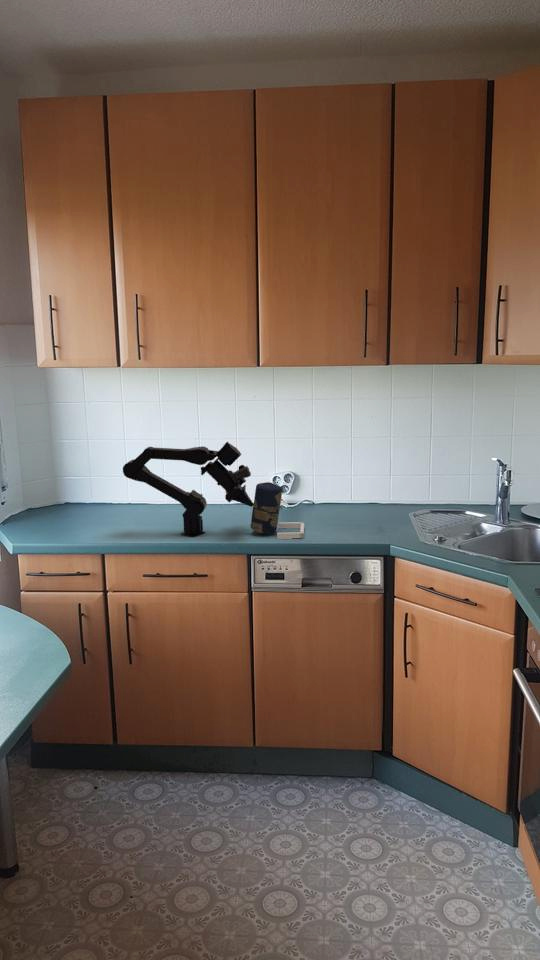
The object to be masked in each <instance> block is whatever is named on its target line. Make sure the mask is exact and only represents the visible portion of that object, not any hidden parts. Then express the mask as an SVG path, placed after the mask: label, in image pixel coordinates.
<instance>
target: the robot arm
mask: <svg viewBox="0 0 540 960" xmlns="http://www.w3.org/2000/svg"><path fill="white" fill-rule="evenodd" d="M241 456H242V453H241V452H240V450H239V449H238V448H237V447H236V446H234V445H233V444H231V443H230V442H229V441H226V442H225V443H224V444H223V446H222V447H221V448H220V449H219V450H211V449H209V448H208V447H207V446H197V447H196V446H195V447H190V448H173V447H171V448H169V447H153V446H148V447H146V448H144V450H143V451H142V452H141V453H139V455H138V456H137V457H136V458H134V459H131V460H129V461H128V462H126V463H125V464H124V465H123V466H122V473H123V475H124V476H125V478H128V479H130V480H133V481H136V482H141V483H145V484H147V485H148V486H150V487H152V488H153V489H155V490H157V491H159V492H161V493H162V494H164V495H166V496H168V497H170V498H171V499H174V500H175V501H176V502H179V503H180V505H181V506H182V507H183V508H184V509H185V511H183V513H182V514H181V515H182V519H183V520H182V521H183V532H180V534H181V535H183V536H186V537H187V536H188V537H192V538H193V537H197V536H200V535H204V534H206V533H207V532H206V530H205V531H204V525H203V524H204V523H203V521H204V520H203V516H202V513H203V512H204V511H205V509H206V507H207V505H208V502H207V500H206V498H205V497H204V496H203V495H204V494H203V493H202V494H201V493H199V492H197V491H196V490H195V489H192V490H191V491H190V492H189V491H186V490H184V489H182V488H180V487H178V486H176V485H174V484H173V483H172V482H169V481H168V480H166V479H164V478H162V477H160V476H159V475H157V474H155V473H153V472H152V471H151V470H150V469H149V468H148V467H147V466H146V464H147V463H148V462H149V461H150V460H152V459H153V460H164V461H165V460H167V461H168V460H169V461H182V462H187V463H190V464H194V465H198V466H201V467H200V475H201V476H203V475H205V474H206V473H207V474H208V475H209V476H210V477H211V478H213V480H214V481H215V482H216V485H217V486H220V487H222V488H223V490H224V491H225V496H224V497H225V501H227V502H228V503H231V502H232V501H234V502H237V503H241V504H243V505H246V506H249V507H250V508H251V507H252V508H253V505H254V501H252V499H251V498H250V496H249V494H248V493H247V491H246V490H247V488H246V486H247V485H246V484H245V483H246V482H247V480H246V479H247V478H249V477H251V476H252V473H251V471H250V468H249V467H248V465H244V464H241V465H238V469H237V470H236V471H234V472H233V471H232V470H231V469H230V470H228V469H227V468H226V467H227V466H229V467H230V466H232V464H234V463H235V462H236V461H237V460H238V459H239V458H240V457H241ZM206 463H207V464H206ZM203 465H205V466H203ZM242 485H243V486H242Z"/></svg>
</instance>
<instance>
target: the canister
mask: <svg viewBox="0 0 540 960" xmlns="http://www.w3.org/2000/svg"><path fill="white" fill-rule="evenodd" d="M254 492H255V493H254V499H253V500H254V501H253V504H254V505H253V506H252V513H251V521H250V529H251V530H252V531H254V532H256V533H260V534H274V533H276V531H277V529H278V524H279V515H280V511H281V504H282V503H281V502H282V495H283V488H282V486H280V485H278V484H275V483H273V482H269V481H267V482H266V481H265V482H260V483H257V484H256V486H255V491H254Z"/></svg>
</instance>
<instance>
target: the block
mask: <svg viewBox="0 0 540 960" xmlns="http://www.w3.org/2000/svg"><path fill="white" fill-rule="evenodd" d="M279 528H287V529H300V530H299V531H300V532H299V531H297V532H290V531H289V532H277V533H276V538H277V539H276V540H293V539H292V538H304V539H305V521H303V522H301V521H299V522H298V521H294V522H292V521H291V522H290V521H289V522H288V521H287V522H286V521H285V522H279V521H278V529H279Z"/></svg>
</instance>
